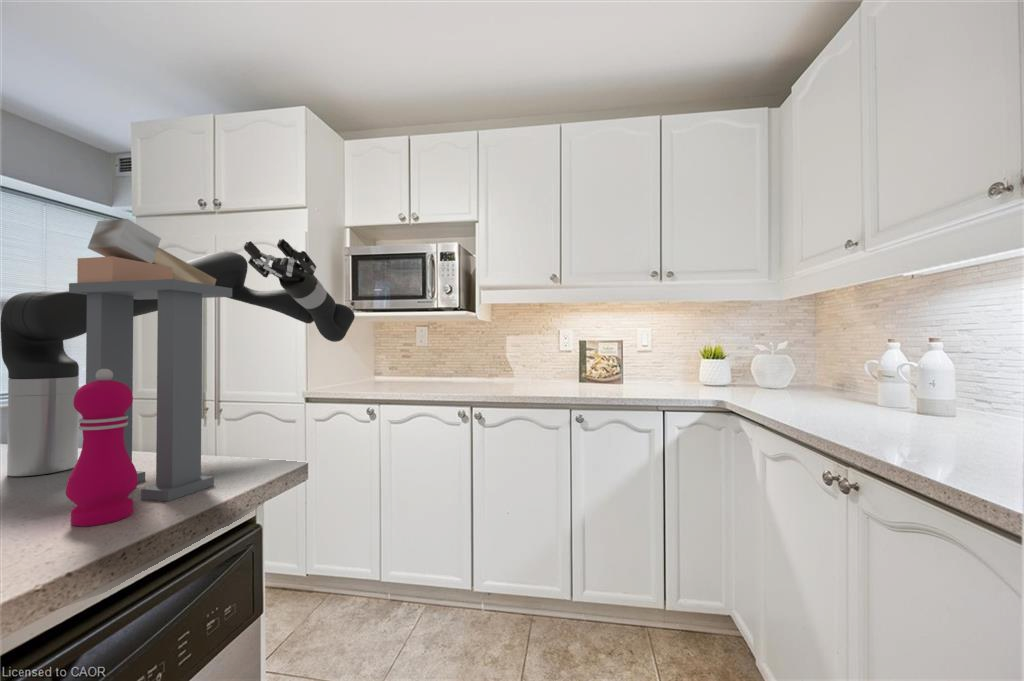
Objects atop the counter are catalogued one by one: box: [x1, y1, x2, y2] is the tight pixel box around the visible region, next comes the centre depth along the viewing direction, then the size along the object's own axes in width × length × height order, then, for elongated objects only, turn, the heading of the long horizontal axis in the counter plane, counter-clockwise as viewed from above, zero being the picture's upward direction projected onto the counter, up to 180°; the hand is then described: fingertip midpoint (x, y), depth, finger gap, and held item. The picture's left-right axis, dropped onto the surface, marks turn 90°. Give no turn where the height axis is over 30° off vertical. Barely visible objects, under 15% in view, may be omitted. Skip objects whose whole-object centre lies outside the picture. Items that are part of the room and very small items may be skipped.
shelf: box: [68, 279, 232, 502], centre depth 76 cm, size 20×11×33 cm, turn 78°
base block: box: [76, 256, 172, 283], centre depth 77 cm, size 7×10×4 cm
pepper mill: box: [65, 369, 139, 528], centre depth 62 cm, size 7×7×20 cm
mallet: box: [87, 218, 216, 286], centre depth 83 cm, size 6×20×5 cm, turn 168°
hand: (263, 242), depth 102 cm, fingers open, 8 cm apart
